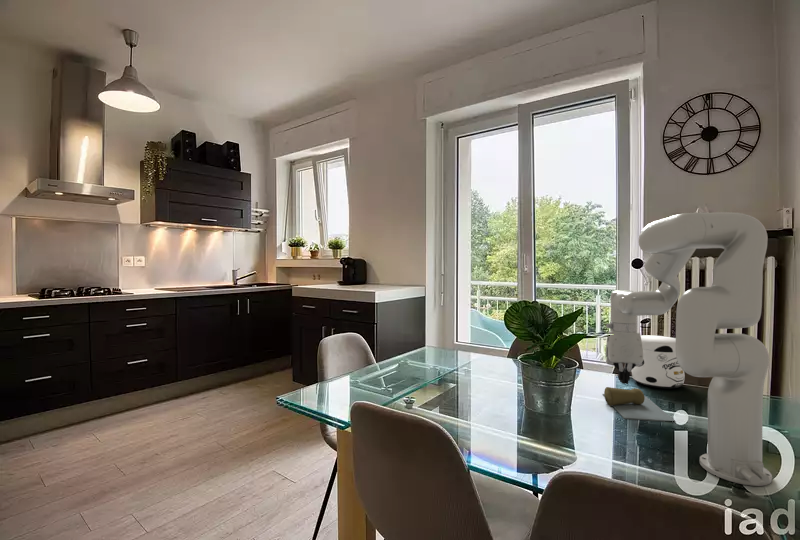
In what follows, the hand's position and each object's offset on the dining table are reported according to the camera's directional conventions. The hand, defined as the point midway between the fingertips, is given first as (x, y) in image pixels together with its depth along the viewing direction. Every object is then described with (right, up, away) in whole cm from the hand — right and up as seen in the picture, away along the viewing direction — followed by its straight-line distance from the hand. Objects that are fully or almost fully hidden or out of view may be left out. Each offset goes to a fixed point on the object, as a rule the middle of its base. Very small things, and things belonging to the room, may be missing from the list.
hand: (624, 382), depth 129 cm
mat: (+3, -8, -1) cm, 9 cm away
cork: (-4, -5, +2) cm, 7 cm away
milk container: (+26, -8, +22) cm, 35 cm away
